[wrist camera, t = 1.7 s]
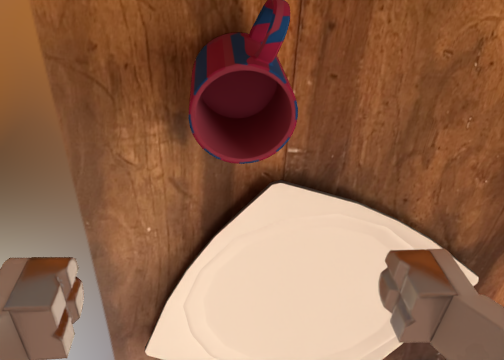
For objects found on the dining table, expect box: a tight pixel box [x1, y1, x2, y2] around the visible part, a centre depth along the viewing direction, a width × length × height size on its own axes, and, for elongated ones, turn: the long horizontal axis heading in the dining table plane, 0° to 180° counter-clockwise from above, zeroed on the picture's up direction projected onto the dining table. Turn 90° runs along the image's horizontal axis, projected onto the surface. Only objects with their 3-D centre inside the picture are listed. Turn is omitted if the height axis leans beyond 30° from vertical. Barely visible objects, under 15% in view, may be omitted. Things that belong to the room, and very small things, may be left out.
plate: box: [145, 180, 479, 360], centre depth 45 cm, size 29×29×3 cm
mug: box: [189, 0, 298, 164], centre depth 27 cm, size 7×10×7 cm
